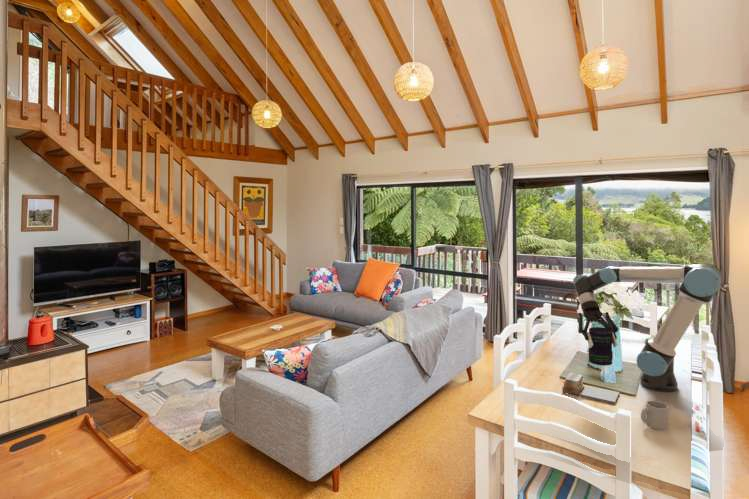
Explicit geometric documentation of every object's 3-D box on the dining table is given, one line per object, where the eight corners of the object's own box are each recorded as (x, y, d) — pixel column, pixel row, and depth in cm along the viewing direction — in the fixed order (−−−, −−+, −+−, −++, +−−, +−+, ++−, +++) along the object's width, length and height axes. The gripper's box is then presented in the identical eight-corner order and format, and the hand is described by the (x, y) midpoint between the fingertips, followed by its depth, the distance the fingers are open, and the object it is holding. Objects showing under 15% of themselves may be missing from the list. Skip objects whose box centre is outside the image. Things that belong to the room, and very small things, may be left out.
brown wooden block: (584, 387, 208) (584, 374, 207) (578, 396, 199) (578, 382, 198) (568, 384, 212) (568, 371, 212) (562, 392, 203) (562, 379, 203)
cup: (672, 429, 167) (672, 408, 167) (647, 431, 167) (648, 409, 166) (658, 420, 175) (659, 399, 174) (635, 422, 174) (635, 401, 173)
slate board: (619, 394, 199) (619, 392, 199) (614, 404, 190) (614, 401, 190) (586, 387, 208) (586, 385, 208) (580, 396, 198) (580, 394, 198)
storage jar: (585, 362, 197) (585, 330, 196) (592, 356, 204) (592, 325, 203) (608, 367, 190) (609, 334, 189) (615, 361, 197) (616, 329, 195)
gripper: (610, 307, 209) (626, 349, 195) (563, 308, 211) (575, 350, 197) (615, 299, 204) (632, 341, 189) (567, 300, 205) (580, 342, 191)
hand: (603, 346), depth 193 cm, fingers closed on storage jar, 10 cm apart
